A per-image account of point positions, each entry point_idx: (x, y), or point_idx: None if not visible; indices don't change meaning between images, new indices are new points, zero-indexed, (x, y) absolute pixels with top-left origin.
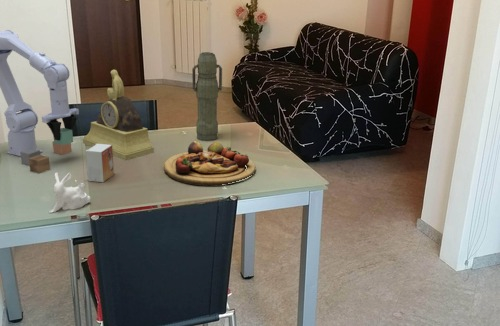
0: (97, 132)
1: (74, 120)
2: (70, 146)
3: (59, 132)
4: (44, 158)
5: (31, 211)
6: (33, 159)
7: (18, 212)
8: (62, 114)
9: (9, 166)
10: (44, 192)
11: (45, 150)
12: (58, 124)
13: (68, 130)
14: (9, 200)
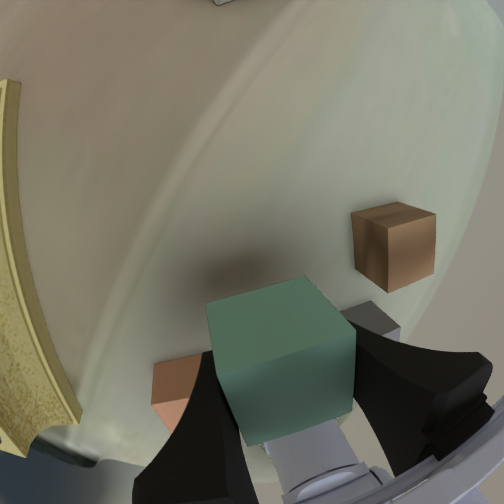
0: (11, 391)
1: (175, 469)
2: (156, 381)
3: (369, 342)
4: (407, 226)
5: (478, 13)
6: (433, 248)
7: (492, 34)
8: (462, 500)
9: (401, 333)
10: (446, 48)
11: None
12: (458, 366)
13: (260, 372)
14: (496, 93)
